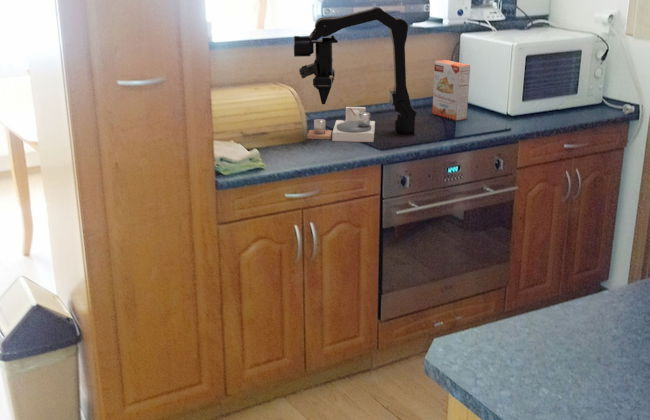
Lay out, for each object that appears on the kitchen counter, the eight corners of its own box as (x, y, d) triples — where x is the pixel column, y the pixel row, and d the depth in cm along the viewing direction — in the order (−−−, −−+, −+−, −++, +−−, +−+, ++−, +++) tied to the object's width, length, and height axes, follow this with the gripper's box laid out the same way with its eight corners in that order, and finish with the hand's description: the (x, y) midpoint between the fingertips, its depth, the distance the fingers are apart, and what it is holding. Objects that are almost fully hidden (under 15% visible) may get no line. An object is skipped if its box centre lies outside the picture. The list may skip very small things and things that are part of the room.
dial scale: (374, 129, 268) (375, 106, 265) (373, 142, 252) (373, 118, 249) (336, 128, 269) (336, 105, 266) (332, 141, 253) (332, 117, 250)
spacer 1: (325, 131, 261) (326, 119, 259) (324, 134, 257) (324, 121, 255) (314, 131, 261) (314, 118, 259) (313, 134, 257) (313, 121, 256)
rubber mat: (331, 133, 263) (331, 130, 262) (330, 139, 255) (330, 136, 255) (309, 132, 263) (309, 129, 263) (306, 138, 256) (306, 135, 256)
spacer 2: (370, 124, 258) (370, 112, 257) (369, 127, 255) (369, 114, 253) (358, 124, 259) (358, 112, 257) (358, 127, 255) (358, 114, 253)
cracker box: (431, 114, 290) (433, 60, 283) (442, 112, 293) (446, 59, 286) (455, 121, 279) (458, 65, 272) (467, 119, 282) (471, 64, 275)
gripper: (303, 51, 261) (304, 95, 267) (297, 60, 244) (298, 107, 249) (334, 51, 261) (335, 95, 266) (331, 60, 243) (331, 107, 249)
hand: (324, 101), depth 258 cm, fingers open, 9 cm apart
